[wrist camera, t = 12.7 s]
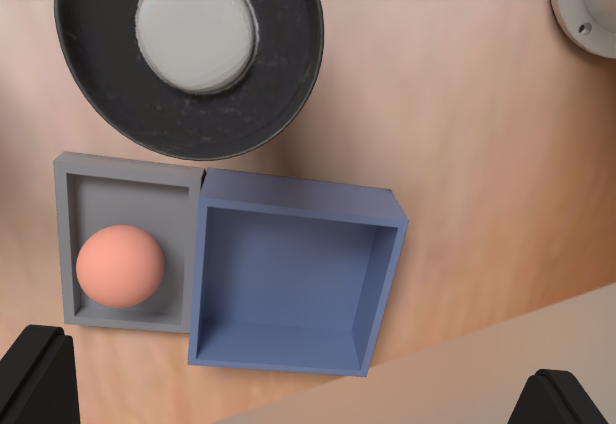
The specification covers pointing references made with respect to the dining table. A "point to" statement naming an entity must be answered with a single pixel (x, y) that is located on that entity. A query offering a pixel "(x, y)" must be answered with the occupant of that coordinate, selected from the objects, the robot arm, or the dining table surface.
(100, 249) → the ball
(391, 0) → the dining table surface
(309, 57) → the travel mug
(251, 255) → the blue storage bin
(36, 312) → the dining table surface
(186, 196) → the tray
